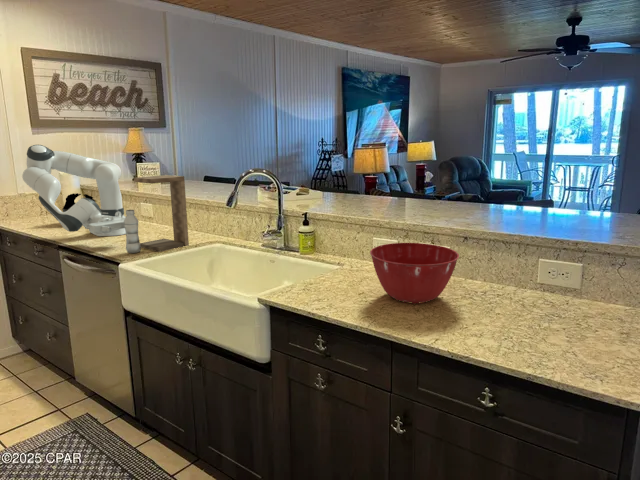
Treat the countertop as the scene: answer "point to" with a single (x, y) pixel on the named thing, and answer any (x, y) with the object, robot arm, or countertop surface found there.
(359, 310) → the countertop surface
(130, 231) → the plastic bottle
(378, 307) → the countertop surface
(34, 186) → the robot arm
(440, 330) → the countertop surface
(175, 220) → the walnut shelf
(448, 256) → the mixing bowl
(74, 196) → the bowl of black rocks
